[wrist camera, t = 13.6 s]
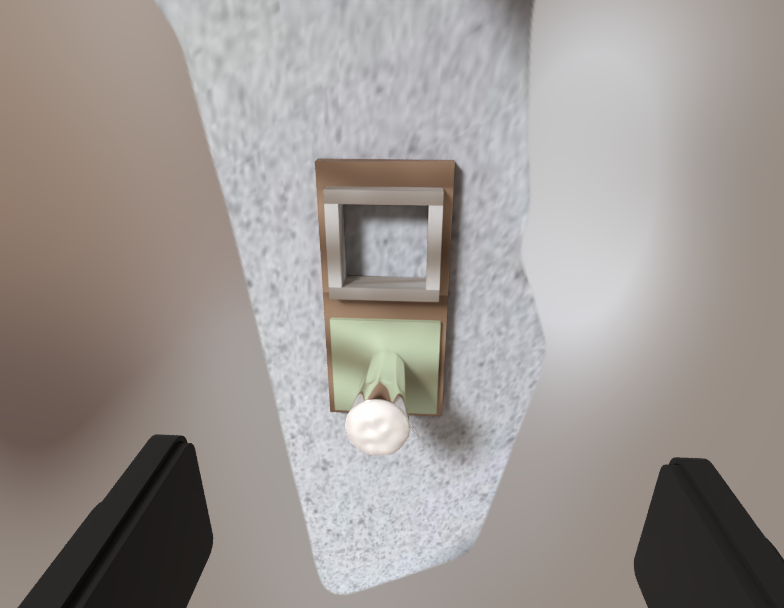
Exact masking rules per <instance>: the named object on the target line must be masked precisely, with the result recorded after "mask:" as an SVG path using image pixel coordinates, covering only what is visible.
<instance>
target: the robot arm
mask: <svg viewBox="0 0 784 608" xmlns="http://www.w3.org/2000/svg"><path fill="white" fill-rule="evenodd" d="M212 545H213V533H212V528H211V524H210V519H209V514H208V509H207V504H206V500H205V495H204V490H203V485H202V480H201V475H200V471H199V466H198V461H197V456H196V451H195V447H194V445H193V444H192V443H187V440H186V438H185V437H184V436H180V435H179V436H178V435H157V434H156V435H153V436H152V437H151V438H150V439H149V440H148V441H147V443H146V444H145V446H144V447H143V448H142V450H141V451H140V452H139V453H138V455H137V456H136V457H135V459H134V460H133V461H132V463H131V464H130V465H129V467H128V468H127V469H126V471H125V472H124V473H123V475H122V476H121V477H120V479H119V480H118V481H117V483H116V484H115V485H114V486H113V488H112V489H111V490H110V492H109V493H108V494H107V496H106V497H105V498H104V500H103V501H102V502H101V503H99V504H98V505H97V506H96V507H95V508H94V509H93V510H92V511H91V512H90V514H89V515H88V516H87V518H86V519H85V520H84V522H83V523H82V524H81V526H80V527H79V528H78V529H77V531H76V532H75V533H74V535H73V536H72V537H71V539H70V540H69V541H68V543H67V544H66V545H65V546H64V548H63V549H62V550H61V552H60V553H59V554H58V556H57V557H56V558H55V560H54V561H53V562H52V563H51V565H50V566H49V567H48V569H47V570H46V572H45V573H44V574H43V575H42V577H41V578H40V579H39V581H38V582H37V583H36V584H35V586H34V587H33V588H32V590H31V591H30V592H29V594H28V595H27V596H26V598H25V599H24V600H23V601H22V603H21V604H20V605H19V607H18V608H186V607H187V605H188V603H189V600H190V598H191V596H192V594H193V591H194V589H195V587H196V585H197V582H198V580H199V578H200V576H201V573H202V571H203V569H204V567H205V565H206V563H207V560H208V558H209V556H210V553H211V550H212ZM634 571H635V576H636V579H637V582H638V584H639V587H640V589H641V591H642V594H643V596H644V599H645V601H646V604H647V606H648V608H784V559H783V558H782V557H781V555H780V554H779V552H778V551H777V549H776V548H775V547H774V546H773V545H772V543H771V542H770V541H769V540H768V539H767V538H765V536H764V535H763V533H762V532H761V531H760V529H759V528H758V527H757V526H756V524H755V523H754V521H753V520H752V518H751V517H750V515H749V514H748V513H747V511H746V510H745V509H744V507H743V506H742V504H741V503H740V502H739V500H738V499H737V498H736V496H735V495H734V493H733V492H732V491H731V489H730V488H729V486H728V485H727V484H726V482H725V481H724V480H723V478H722V477H721V475H720V474H719V473H718V471H717V470H716V469H715V467H714V466H713V465H712V463H711V462H710V461H709V460H707V459H701V458H678V457H677V458H673V459H672V460H671V461H670V463H669V465H663V466H662V467H661V469H660V472H659V476H658V479H657V483H656V486H655V489H654V493H653V496H652V500H651V503H650V507H649V510H648V514H647V517H646V521H645V524H644V527H643V531H642V534H641V538H640V541H639V544H638V548H637V551H636V555H635V558H634Z"/></svg>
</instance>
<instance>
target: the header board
mask: <svg viewBox="0 0 784 608" xmlns="http://www.w3.org/2000/svg"><path fill="white" fill-rule="evenodd" d="M315 170H316V187H317V203H318V219H319V235H320V251H321V267H322V283H323V300H324V316H325V332H326V348H327V364H328V380H329V396H330V412H349V410H350V408H351V405H352V403H353V400H354V398H355V395H356V392H357V389H358V387H359V384H360V381H361V378H362V375H363V372H364V369H365V367H366V364H367V362H368V361H369V359H370V358H371V357H372V355H373V354H375V353H378V352H381V351H384V350H385V351H389V352H393V353H396V354H397V355H398V356H399V357H400V358H401V359H402V360H403V361H404V369H405V387H406V399H407V406H408V415H423V416H442V402H443V383H444V363H445V344H446V325H447V305H448V286H449V267H450V247H451V228H452V209H453V189H454V170H455V162H454V160H389V159H317V160H316V161H315ZM344 204H367V205H429V207H428V239H427V271H426V278H420V277H380V276H346V254H345V229H344Z"/></svg>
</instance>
